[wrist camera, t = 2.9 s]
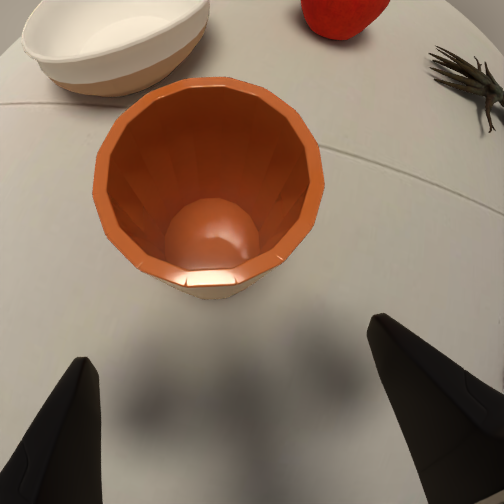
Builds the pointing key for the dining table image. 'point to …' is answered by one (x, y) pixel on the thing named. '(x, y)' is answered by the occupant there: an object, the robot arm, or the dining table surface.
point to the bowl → (112, 42)
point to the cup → (208, 184)
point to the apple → (341, 16)
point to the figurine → (472, 80)
